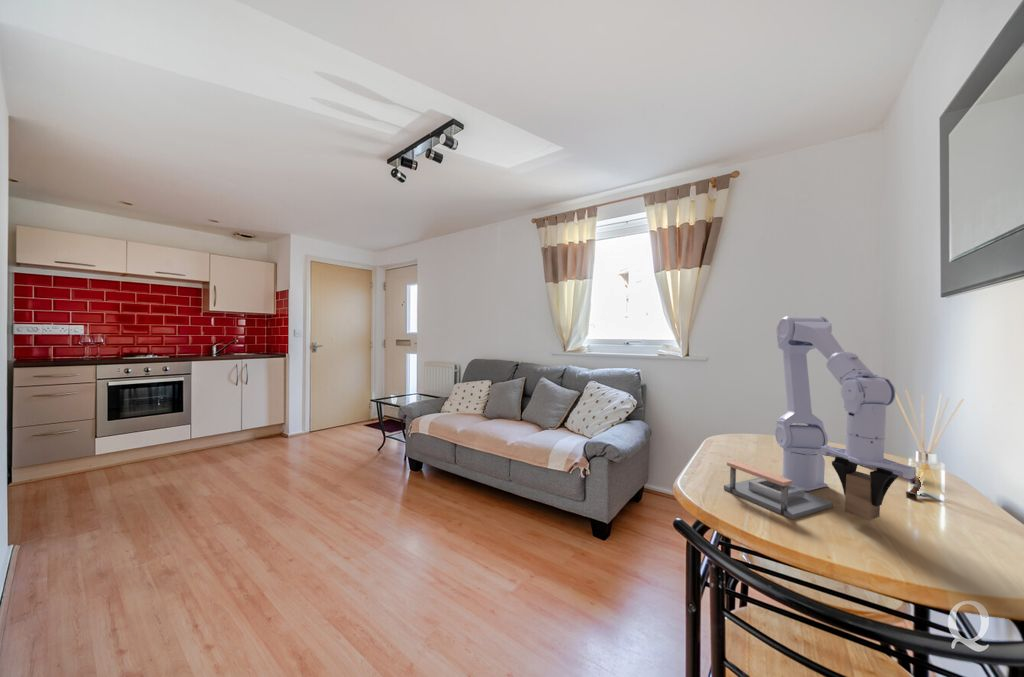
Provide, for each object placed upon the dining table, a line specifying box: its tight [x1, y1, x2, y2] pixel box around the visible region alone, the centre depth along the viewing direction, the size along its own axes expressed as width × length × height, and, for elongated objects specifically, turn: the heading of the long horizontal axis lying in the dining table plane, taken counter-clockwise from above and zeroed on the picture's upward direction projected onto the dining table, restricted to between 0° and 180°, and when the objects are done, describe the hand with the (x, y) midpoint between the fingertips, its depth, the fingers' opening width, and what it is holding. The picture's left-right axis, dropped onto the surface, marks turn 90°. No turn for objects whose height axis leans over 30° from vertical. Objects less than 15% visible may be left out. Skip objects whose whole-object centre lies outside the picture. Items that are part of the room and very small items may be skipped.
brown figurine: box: [905, 476, 921, 501], centre depth 92 cm, size 2×8×4 cm, turn 118°
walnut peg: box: [844, 470, 881, 521], centre depth 77 cm, size 4×4×8 cm
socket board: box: [723, 460, 834, 520], centre depth 90 cm, size 16×16×8 cm
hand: (862, 500), depth 77 cm, fingers closed on walnut peg, 4 cm apart
